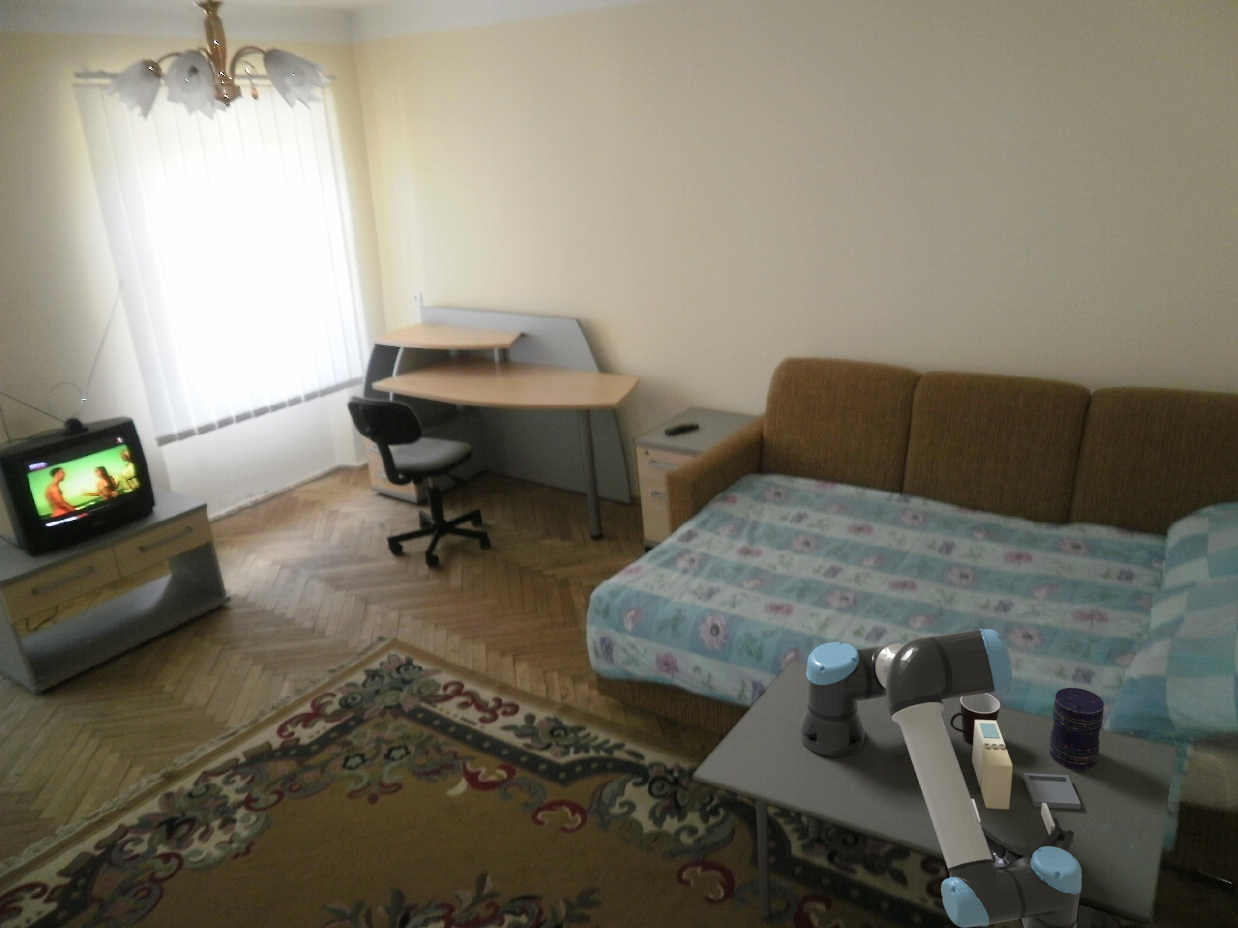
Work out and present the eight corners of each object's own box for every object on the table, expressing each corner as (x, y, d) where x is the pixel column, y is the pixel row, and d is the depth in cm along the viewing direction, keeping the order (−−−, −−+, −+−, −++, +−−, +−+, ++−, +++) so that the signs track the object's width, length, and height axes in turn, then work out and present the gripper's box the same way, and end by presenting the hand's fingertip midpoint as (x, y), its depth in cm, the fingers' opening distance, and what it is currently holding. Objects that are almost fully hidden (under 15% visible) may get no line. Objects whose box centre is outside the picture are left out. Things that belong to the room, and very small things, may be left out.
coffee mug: (991, 727, 214) (993, 691, 210) (1002, 749, 205) (1005, 713, 202) (940, 727, 215) (942, 691, 212) (949, 749, 207) (952, 713, 203)
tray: (1034, 806, 188) (1034, 801, 187) (1023, 778, 196) (1023, 772, 196) (1080, 809, 186) (1080, 803, 186) (1067, 780, 194) (1068, 775, 194)
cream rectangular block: (986, 807, 188) (989, 764, 185) (980, 790, 194) (984, 747, 190) (1008, 809, 188) (1012, 765, 184) (1002, 791, 193) (1006, 748, 189)
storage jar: (1050, 738, 208) (1055, 683, 203) (1097, 748, 204) (1104, 692, 199) (1047, 764, 200) (1053, 707, 195) (1097, 775, 195) (1104, 717, 190)
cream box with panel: (980, 787, 194) (983, 744, 191) (972, 760, 203) (974, 718, 199) (1001, 788, 194) (1005, 745, 190) (992, 761, 202) (996, 719, 198)
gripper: (960, 898, 163) (941, 817, 183) (1107, 910, 159) (1072, 825, 178) (962, 866, 161) (943, 787, 181) (1112, 876, 156) (1075, 794, 176)
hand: (1007, 805), depth 179 cm, fingers open, 13 cm apart
